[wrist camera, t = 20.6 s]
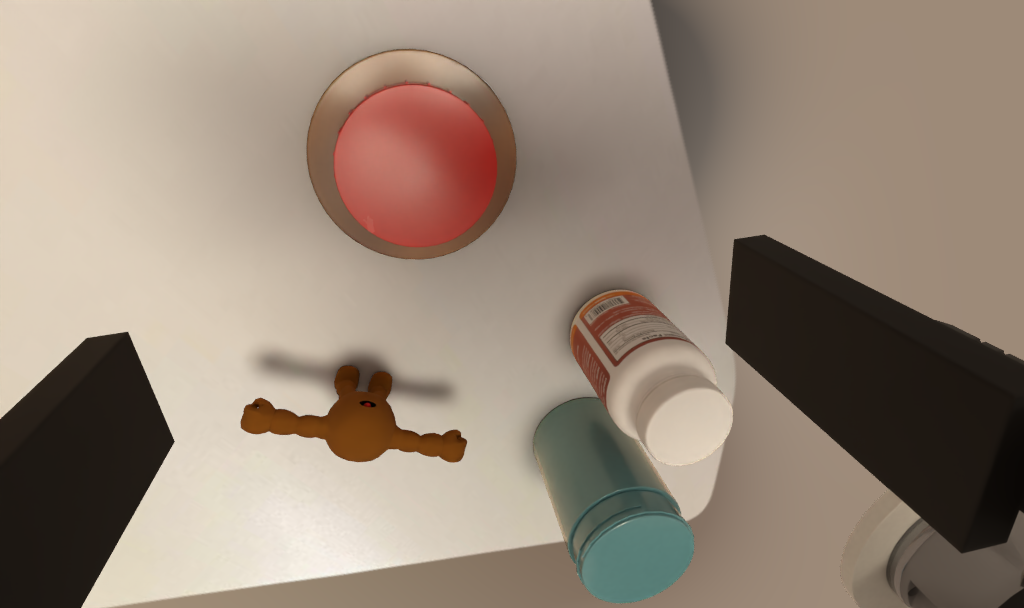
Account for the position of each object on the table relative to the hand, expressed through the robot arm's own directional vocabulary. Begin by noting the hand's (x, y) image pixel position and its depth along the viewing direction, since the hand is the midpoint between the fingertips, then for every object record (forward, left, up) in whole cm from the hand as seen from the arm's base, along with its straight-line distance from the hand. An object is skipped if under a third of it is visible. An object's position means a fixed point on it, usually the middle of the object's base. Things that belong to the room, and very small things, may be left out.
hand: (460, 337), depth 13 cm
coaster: (0, 0, -21) cm, 21 cm away
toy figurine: (-2, +14, -21) cm, 25 cm away
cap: (0, 0, -18) cm, 18 cm away
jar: (-18, +14, -21) cm, 30 cm away
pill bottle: (-16, +5, -21) cm, 27 cm away
